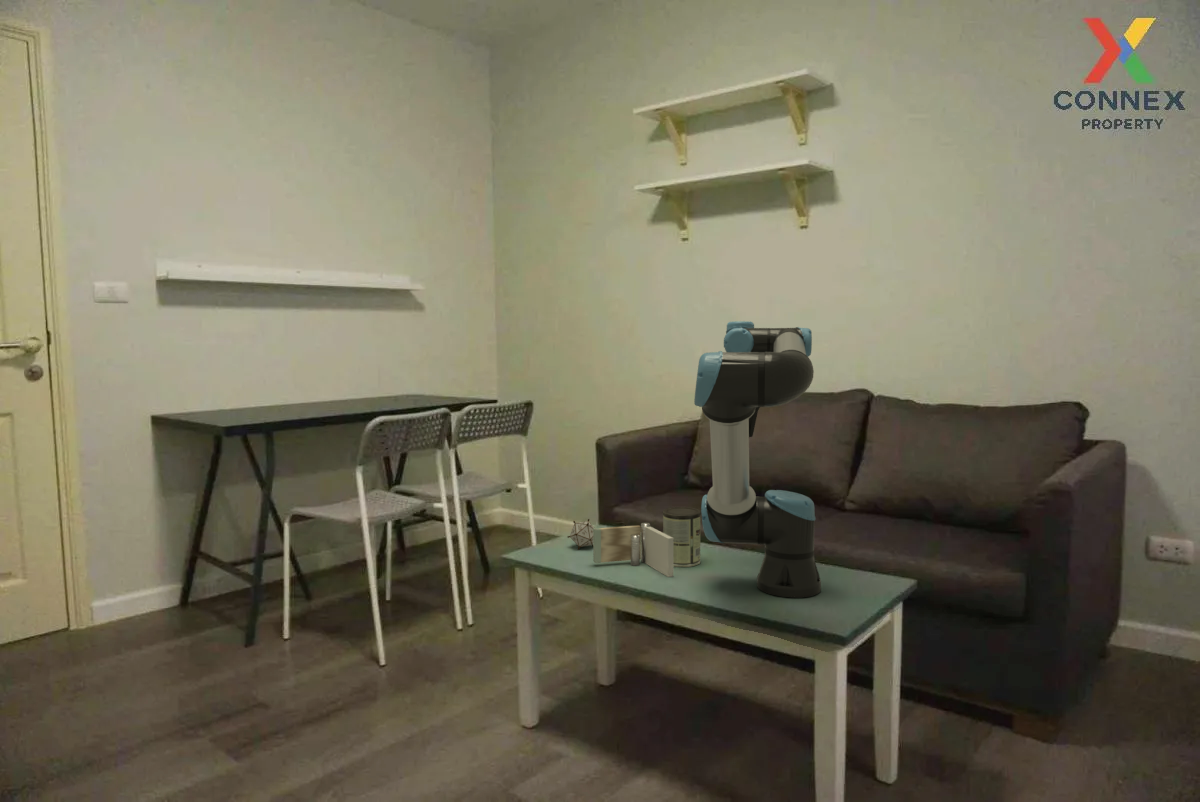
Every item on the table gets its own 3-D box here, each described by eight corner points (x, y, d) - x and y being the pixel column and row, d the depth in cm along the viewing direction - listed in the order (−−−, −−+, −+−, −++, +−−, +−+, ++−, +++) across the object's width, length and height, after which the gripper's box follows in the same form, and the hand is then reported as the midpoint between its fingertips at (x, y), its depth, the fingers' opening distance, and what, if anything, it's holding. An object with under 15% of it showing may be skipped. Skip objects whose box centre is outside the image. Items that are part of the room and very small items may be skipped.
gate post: (651, 562, 210) (651, 524, 209) (643, 563, 209) (643, 525, 208) (647, 559, 212) (647, 522, 211) (639, 560, 211) (639, 523, 210)
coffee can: (662, 555, 216) (663, 506, 215) (700, 556, 215) (700, 507, 214) (662, 566, 206) (662, 514, 205) (701, 567, 205) (701, 515, 204)
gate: (638, 557, 211) (638, 525, 210) (641, 559, 209) (640, 526, 208) (593, 561, 208) (593, 528, 207) (595, 563, 206) (595, 530, 205)
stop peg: (641, 565, 207) (641, 536, 206) (633, 566, 206) (633, 537, 206) (637, 562, 209) (637, 534, 209) (629, 564, 208) (629, 534, 208)
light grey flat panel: (673, 576, 198) (673, 538, 197) (668, 577, 197) (668, 538, 196) (650, 562, 209) (650, 526, 209) (645, 563, 209) (645, 527, 208)
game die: (589, 561, 224) (599, 538, 218) (561, 550, 224) (571, 528, 218) (595, 539, 231) (605, 517, 226) (569, 529, 231) (578, 507, 225)
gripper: (751, 376, 218) (750, 459, 219) (712, 377, 212) (711, 462, 214) (767, 377, 211) (766, 463, 213) (727, 379, 205) (727, 466, 207)
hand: (739, 463), depth 213 cm, fingers closed
